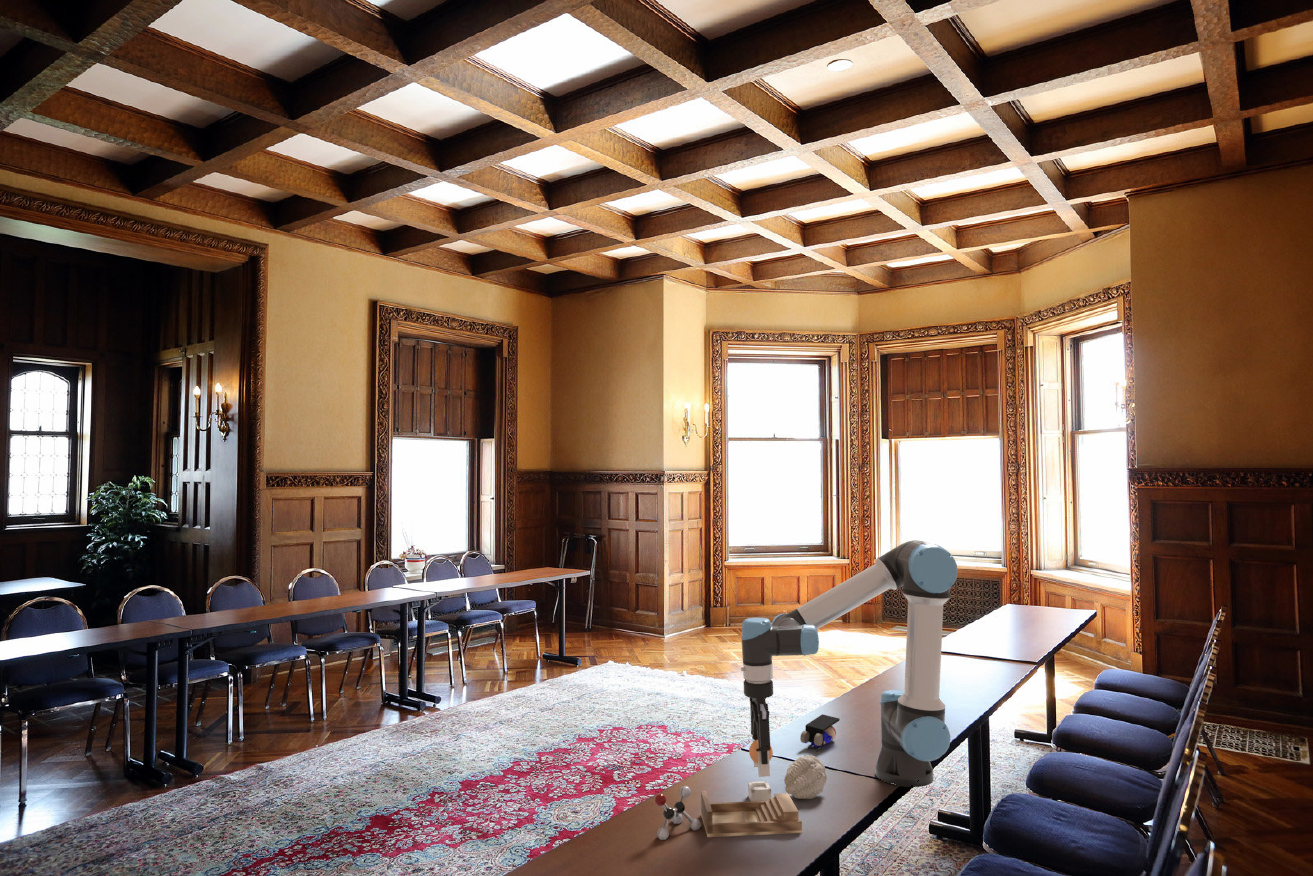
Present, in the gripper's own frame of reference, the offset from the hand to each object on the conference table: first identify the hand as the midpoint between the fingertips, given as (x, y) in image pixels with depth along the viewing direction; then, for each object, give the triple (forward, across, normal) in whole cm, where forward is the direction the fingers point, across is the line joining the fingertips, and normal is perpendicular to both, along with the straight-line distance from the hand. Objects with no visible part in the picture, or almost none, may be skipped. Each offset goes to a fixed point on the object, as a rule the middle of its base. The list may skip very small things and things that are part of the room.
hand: (761, 771), depth 204 cm
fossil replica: (+8, -1, +11) cm, 14 cm away
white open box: (+7, 0, -1) cm, 8 cm away
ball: (-5, 0, 0) cm, 5 cm away
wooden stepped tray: (+7, +14, -6) cm, 17 cm away
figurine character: (+6, -33, +21) cm, 39 cm away
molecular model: (+7, +16, -24) cm, 30 cm away
